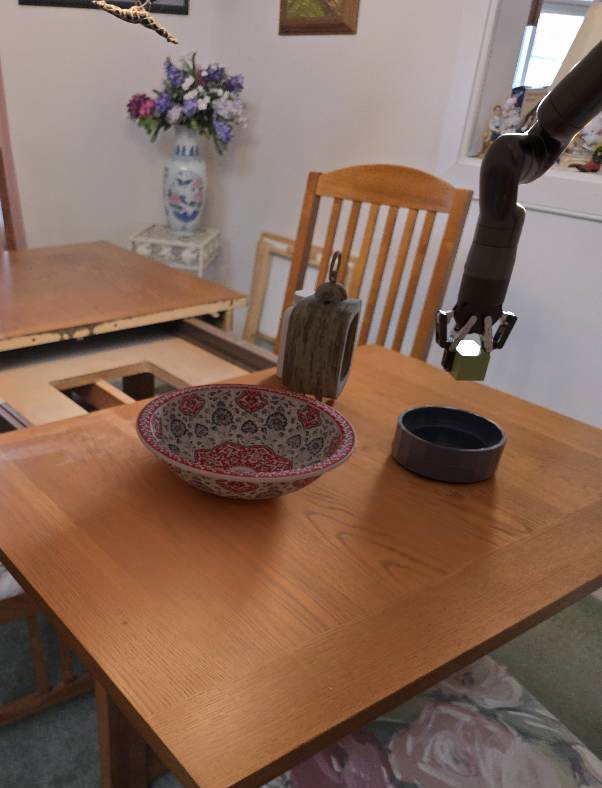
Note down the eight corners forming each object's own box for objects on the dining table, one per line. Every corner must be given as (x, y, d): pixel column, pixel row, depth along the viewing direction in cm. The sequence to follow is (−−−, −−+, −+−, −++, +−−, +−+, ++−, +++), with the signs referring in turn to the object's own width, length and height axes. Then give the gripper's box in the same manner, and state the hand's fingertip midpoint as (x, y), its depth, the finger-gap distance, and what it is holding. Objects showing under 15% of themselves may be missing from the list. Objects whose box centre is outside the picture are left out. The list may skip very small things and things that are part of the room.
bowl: (472, 439, 112) (481, 406, 109) (513, 486, 99) (525, 451, 96) (378, 437, 111) (385, 404, 108) (408, 485, 98) (417, 450, 95)
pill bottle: (327, 376, 131) (340, 294, 123) (302, 387, 126) (314, 303, 118) (292, 365, 136) (302, 285, 127) (267, 375, 131) (276, 292, 122)
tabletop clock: (329, 428, 113) (357, 264, 99) (275, 417, 115) (294, 256, 101) (346, 396, 124) (372, 245, 110) (296, 387, 126) (315, 239, 112)
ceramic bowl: (90, 481, 95) (88, 426, 90) (217, 415, 115) (220, 368, 110) (274, 565, 81) (282, 506, 76) (382, 474, 101) (393, 422, 96)
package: (467, 365, 130) (473, 340, 127) (484, 381, 123) (491, 355, 121) (440, 364, 129) (446, 340, 127) (455, 380, 123) (462, 355, 120)
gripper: (453, 276, 113) (430, 377, 123) (539, 278, 114) (509, 379, 123) (437, 265, 119) (416, 362, 129) (519, 267, 120) (492, 364, 130)
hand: (462, 370), depth 126 cm, fingers closed on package, 5 cm apart
